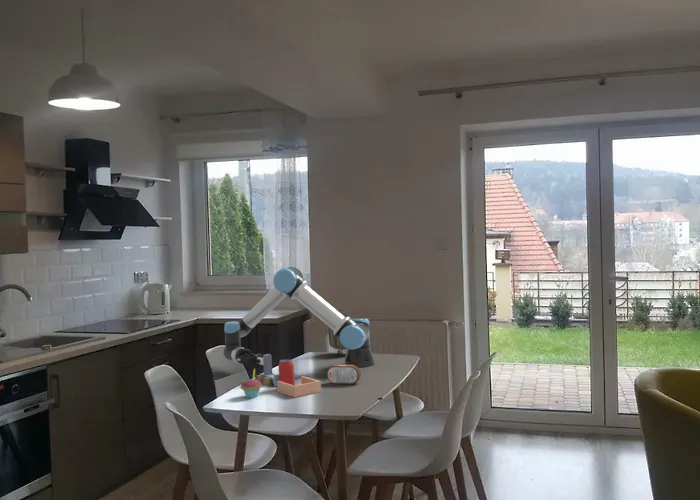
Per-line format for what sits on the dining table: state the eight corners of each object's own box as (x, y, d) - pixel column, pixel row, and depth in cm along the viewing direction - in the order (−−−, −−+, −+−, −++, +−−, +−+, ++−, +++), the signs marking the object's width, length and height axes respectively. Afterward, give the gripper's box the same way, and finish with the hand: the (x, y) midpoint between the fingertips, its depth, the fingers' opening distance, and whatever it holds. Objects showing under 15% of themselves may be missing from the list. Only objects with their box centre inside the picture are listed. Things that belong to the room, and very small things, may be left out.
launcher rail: (255, 381, 292) (254, 374, 292) (269, 378, 296) (269, 372, 296) (270, 386, 281) (269, 379, 281) (284, 383, 285) (284, 376, 285)
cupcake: (265, 394, 266) (264, 365, 266) (256, 399, 258) (254, 370, 258) (247, 393, 269) (246, 365, 268) (237, 398, 261) (236, 369, 260)
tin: (361, 383, 279) (360, 364, 279) (359, 384, 276) (358, 365, 276) (328, 382, 283) (327, 363, 283) (326, 384, 280) (325, 365, 280)
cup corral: (277, 391, 270) (276, 381, 270) (303, 386, 277) (303, 376, 277) (294, 397, 258) (294, 386, 258) (321, 391, 266) (320, 381, 266)
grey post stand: (258, 380, 291) (256, 354, 291) (270, 378, 295) (269, 352, 294) (275, 386, 278) (274, 359, 277) (288, 383, 281) (286, 357, 281)
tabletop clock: (358, 354, 348) (356, 308, 348) (348, 357, 341) (346, 310, 341) (338, 352, 357) (336, 308, 357) (328, 355, 350) (325, 309, 350)
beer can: (288, 390, 271) (287, 362, 271) (276, 389, 275) (275, 361, 275) (297, 386, 277) (296, 359, 277) (285, 385, 280) (284, 358, 280)
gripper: (254, 361, 313) (278, 368, 294) (230, 365, 306) (252, 372, 287) (253, 346, 313) (277, 351, 294) (229, 349, 306) (251, 355, 286)
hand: (265, 362), depth 290 cm, fingers closed
